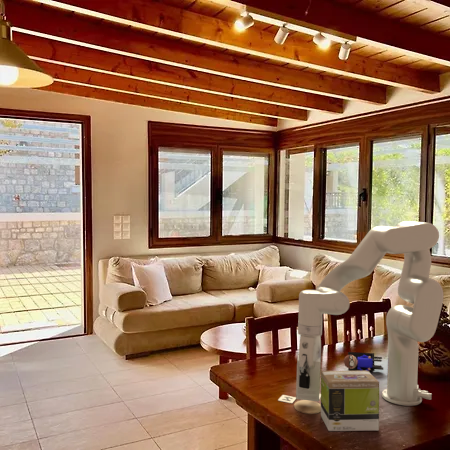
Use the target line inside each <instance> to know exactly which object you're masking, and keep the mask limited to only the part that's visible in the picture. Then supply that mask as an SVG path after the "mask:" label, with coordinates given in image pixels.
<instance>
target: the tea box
mask: <svg viewBox="0 0 450 450" xmlns="http://www.w3.org/2000/svg"><path fill="white" fill-rule="evenodd" d="M320 394H321V398H320V404H321V412H320V417H321V419H322V421H323V422H324V424H325V426H326V428H327V431H328V432H351V431H352V432H353V431H355V432H357V431H359V432H360V431H369V432H370V431H375V432H376V431H380V381H379V380H378V379H376V377H375V376H374V375H373V374H371V371H367V370H363V371H360V370H320Z"/></svg>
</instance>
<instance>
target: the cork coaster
mask: <svg viewBox="0 0 450 450" xmlns="http://www.w3.org/2000/svg"><path fill="white" fill-rule="evenodd" d="M293 408H294V410H296V411H298V412H299V413H301V414H307V415H313V414H315V415H316V414H319V413H321V402H320V403H319V401H309V400H300V399H299V400H297V401H294V402H293Z"/></svg>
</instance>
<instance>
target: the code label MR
mask: <svg viewBox="0 0 450 450" xmlns="http://www.w3.org/2000/svg"><path fill="white" fill-rule="evenodd" d="M296 400H297V399H296V396H290V395H286V394H282V395H281V396H280V397H279V398H278V399H277V401H278V402H282V403H286V404H287V403H288V404H294V403H295V402H296Z"/></svg>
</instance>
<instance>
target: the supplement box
mask: <svg viewBox="0 0 450 450" xmlns="http://www.w3.org/2000/svg"><path fill="white" fill-rule="evenodd" d="M321 360H322V358H321V359H320V357H319V358H318V359H317V360H316V361H315V368H311V367H310V371H309V376H310V387H309V389H307V388H301V387H299V372H300V370H299V369H300V367H299V353H297V363H296V385H295V386H296V388H295V391H296V392H295V397H296V400H299V401H300V400H309V401H315V402H320V399H319V394H320V392H321V368H322V367H321V363H322V362H321ZM305 365H307V366H308V362H307V361H306V363H305ZM305 369H306V371H307V368H305Z"/></svg>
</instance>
